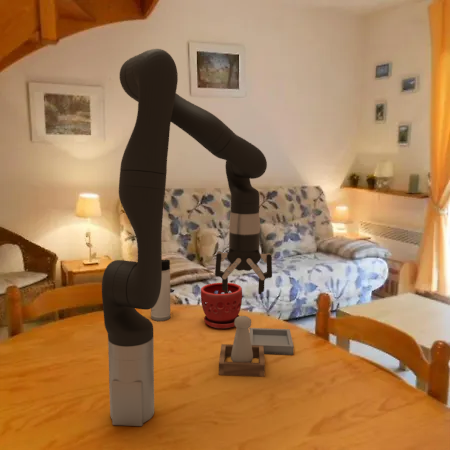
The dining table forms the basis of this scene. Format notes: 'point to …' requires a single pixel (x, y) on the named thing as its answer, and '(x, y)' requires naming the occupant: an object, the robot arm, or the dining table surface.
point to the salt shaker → (242, 341)
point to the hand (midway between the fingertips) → (243, 292)
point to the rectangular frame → (242, 367)
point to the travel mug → (163, 295)
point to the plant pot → (221, 304)
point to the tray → (272, 340)
